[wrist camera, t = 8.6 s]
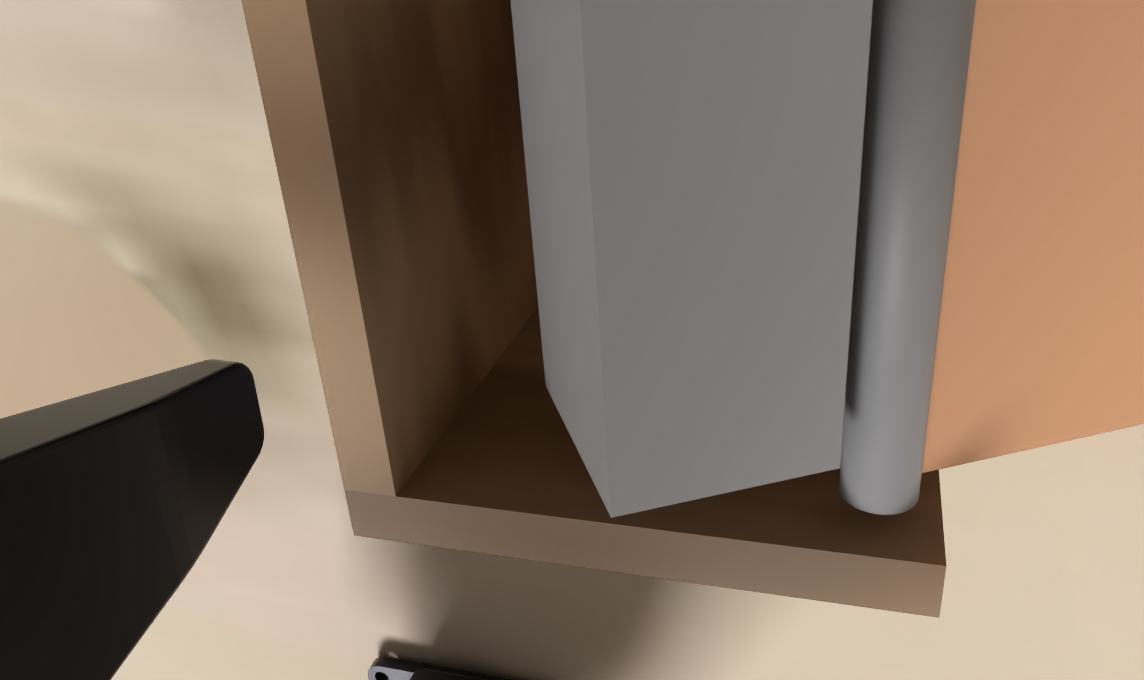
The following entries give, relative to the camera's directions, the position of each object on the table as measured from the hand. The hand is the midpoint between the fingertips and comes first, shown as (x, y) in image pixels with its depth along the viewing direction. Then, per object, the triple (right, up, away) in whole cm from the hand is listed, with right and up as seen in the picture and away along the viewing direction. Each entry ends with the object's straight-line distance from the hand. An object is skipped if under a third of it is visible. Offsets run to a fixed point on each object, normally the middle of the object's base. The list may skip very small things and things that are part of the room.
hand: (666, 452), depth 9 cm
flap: (+5, +6, +7) cm, 10 cm away
